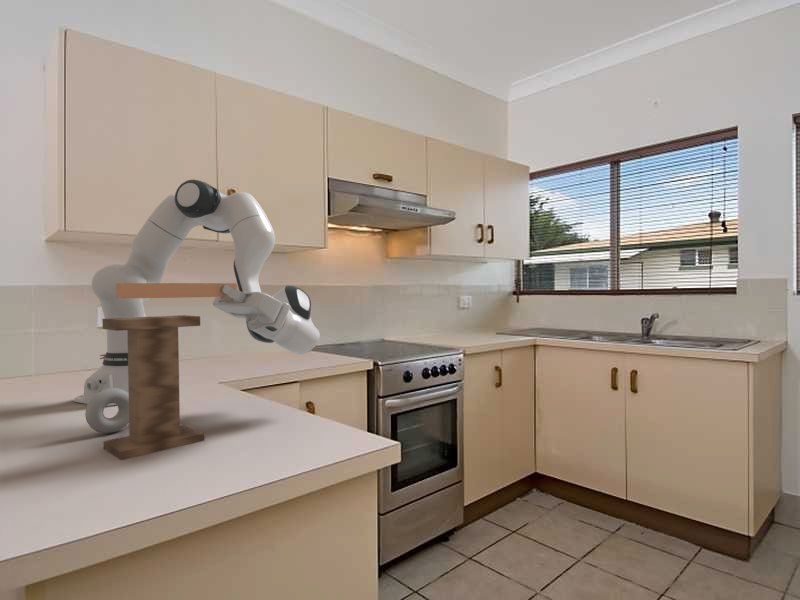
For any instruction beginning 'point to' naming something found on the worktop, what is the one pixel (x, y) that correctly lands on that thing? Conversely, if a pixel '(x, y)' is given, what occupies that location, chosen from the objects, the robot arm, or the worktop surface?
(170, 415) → the stand
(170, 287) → the rod
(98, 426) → the donut
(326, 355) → the worktop surface
